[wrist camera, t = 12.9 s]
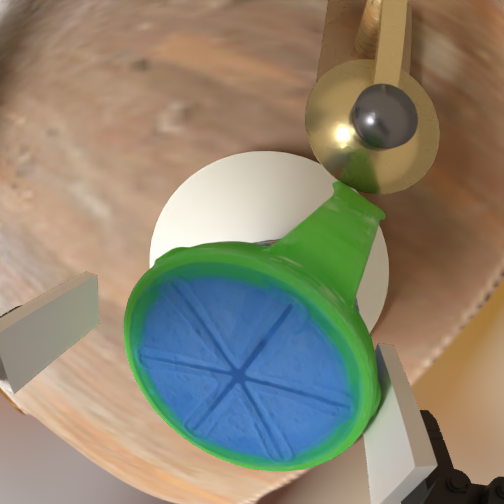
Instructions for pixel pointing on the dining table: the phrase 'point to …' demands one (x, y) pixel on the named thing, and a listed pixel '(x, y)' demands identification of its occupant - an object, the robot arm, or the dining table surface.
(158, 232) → the dish
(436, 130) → the balance
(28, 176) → the dining table surface
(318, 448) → the snack cup
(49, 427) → the dining table surface
